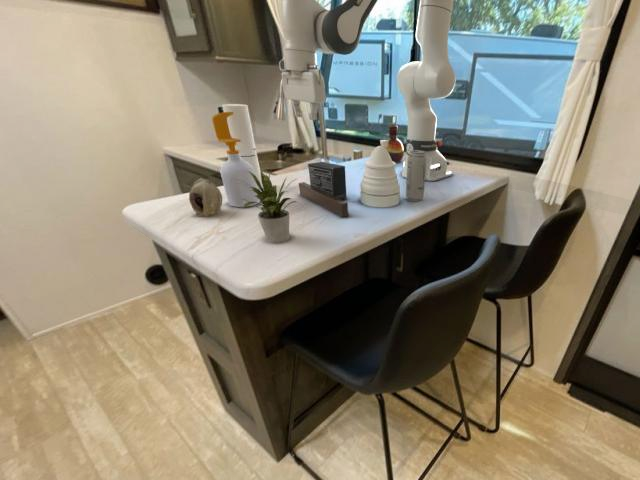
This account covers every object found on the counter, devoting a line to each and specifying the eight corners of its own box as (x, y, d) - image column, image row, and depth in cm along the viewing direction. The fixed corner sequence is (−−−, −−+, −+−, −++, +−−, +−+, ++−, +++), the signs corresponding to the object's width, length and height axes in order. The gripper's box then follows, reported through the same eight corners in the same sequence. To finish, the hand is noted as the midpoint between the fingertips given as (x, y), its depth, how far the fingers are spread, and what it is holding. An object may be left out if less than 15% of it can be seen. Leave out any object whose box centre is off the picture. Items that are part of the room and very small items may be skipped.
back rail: (305, 194, 110) (304, 182, 108) (348, 216, 94) (347, 202, 92) (300, 195, 109) (298, 183, 107) (342, 217, 93) (341, 203, 91)
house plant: (229, 240, 78) (209, 168, 69) (275, 223, 88) (263, 158, 78) (269, 255, 72) (253, 180, 63) (314, 235, 82) (306, 167, 73)
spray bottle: (241, 209, 95) (218, 114, 81) (222, 203, 99) (197, 111, 85) (266, 202, 102) (249, 112, 88) (247, 196, 105) (228, 109, 91)
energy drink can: (422, 202, 107) (425, 153, 99) (404, 200, 108) (406, 152, 100) (424, 197, 112) (428, 150, 104) (407, 195, 113) (409, 149, 105)
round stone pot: (201, 218, 95) (185, 183, 91) (231, 211, 96) (217, 176, 93) (192, 220, 86) (175, 181, 83) (226, 212, 88) (210, 173, 84)
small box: (348, 198, 108) (346, 165, 102) (334, 203, 103) (332, 168, 97) (324, 192, 112) (321, 160, 106) (310, 197, 108) (306, 163, 102)
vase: (405, 159, 163) (407, 125, 155) (401, 164, 154) (402, 127, 146) (384, 157, 165) (384, 123, 156) (378, 162, 156) (378, 126, 147)
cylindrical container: (266, 185, 117) (251, 104, 103) (257, 191, 111) (240, 106, 97) (247, 184, 117) (229, 103, 103) (237, 189, 111) (217, 105, 97)
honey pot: (377, 192, 114) (376, 136, 104) (407, 200, 109) (410, 141, 98) (352, 201, 106) (349, 140, 95) (383, 210, 100) (384, 146, 90)
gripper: (329, 65, 90) (332, 122, 97) (295, 65, 102) (300, 115, 110) (309, 63, 86) (313, 122, 94) (276, 63, 99) (282, 115, 106)
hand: (305, 118), depth 102 cm, fingers open, 8 cm apart
